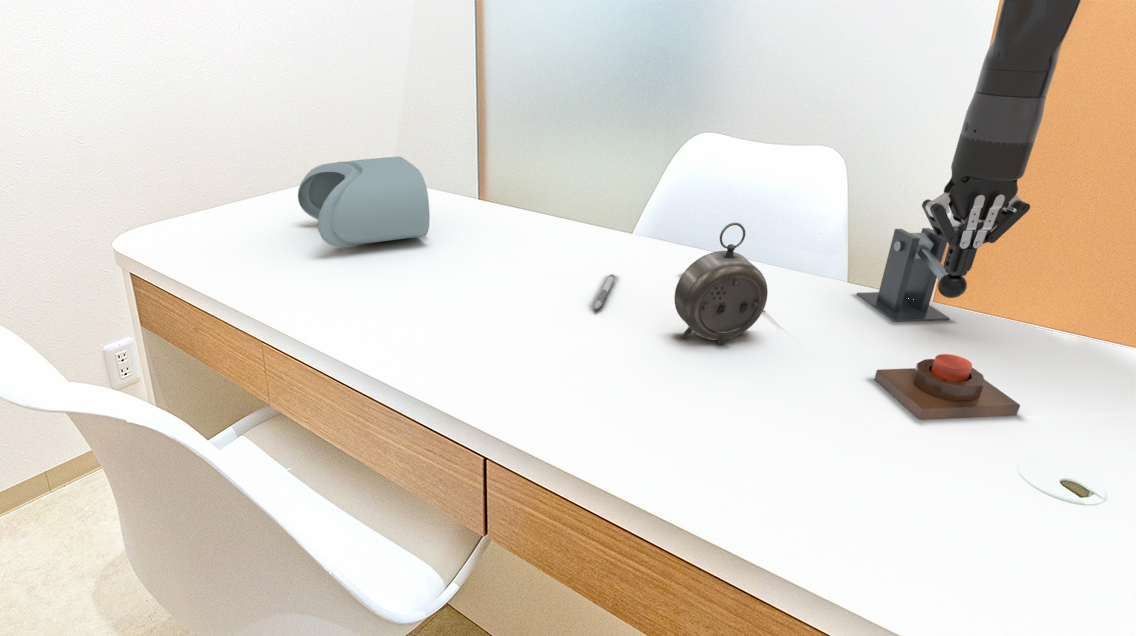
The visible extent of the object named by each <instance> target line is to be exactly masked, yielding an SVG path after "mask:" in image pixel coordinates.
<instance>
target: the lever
mask: <svg viewBox="0 0 1136 636" xmlns="http://www.w3.org/2000/svg"><path fill="white" fill-rule="evenodd" d="M910 233H911V234H913V235H914V236H916V237H918V238H920V240H919V244H918V247H917V251H916V255H915V258H914V259H922V260H923V261H924V262H925V264H926V265H927V266H928V267H929V268H930V270H931V271H932V272H933V273H934V274H935V275H936V277H937V279H938V283H937V290H938V292H939V294H940V295H941V296H943V297H945V298H948V299H956V298H960V297H961V296H962V295H963V294H965V292H966V290H967V288H968V282H967V280H966V278H965V276H952V275H950V274H948V273H947V272H946V271H945V268H944V265H943V264H942V262H941V263H940V262H939V261H938V259H937V258H936V257H935V256H934V255H933V254H932V253H931V249H932V247H933V245H934V243H933V242H932V241H931V240H930V239H929V238H928V237H927V236H926V234H925V233H921V232H910Z"/></svg>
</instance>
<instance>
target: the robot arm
mask: <svg viewBox="0 0 1136 636" xmlns="http://www.w3.org/2000/svg"><path fill="white" fill-rule="evenodd" d="M1081 1H1082V0H1003V1H1002V5H1001V10H1000V12H999V17H998V20H997V24H996V28H995V32H994V37H993V40H992V42H991V44H990V45H989V46H988V49H987V51H986V54H985V57H984V59H983V62H982V65H981V68H980V72H979V76H978V79H977V82H976V87H975V91H974V93H973V96H972V99H971V100H970V103H969V105H968V107H967V110H966V113H965V116H964V120H963V123H962V125H961V126H962V127H961V131H960V134H959V138H958V140H957V144H956V147H955V151H954V154H953V158H952V162H951V166H950V169H951V176H950V178H949V181H948V182H947V183H946V185H944V188H943V193H942V194H940V195H939V196H937V197H935V198H934V199H933V200H932V199H925V200H924V201H923V202H922V203H921V208H922V209H923V211H924V214H925V216H926V219H927V220H928V222H929V224H930V226H931V229H932V230H934V232H935V234H936V236H937V237H938V238H940V239H942V240H944V241H946V242H947V244H948V248H947V250H946V254H945V258H944V261H943V264H942V265H943V266H944V268H945V271H946V272H947V273H948V274H950V275H952V276H963V277H965V276H966V275H968V272H970V271H971V269H972V267H973V263H974V262H975V261H974V260H975V258H976V255H977V251H978V249H979V248H981V247H982V246H983V245H984V244H987V243H989V244H994V243H996V242H997V241H999V239H1000V238H1001V237H1002V236H1003V235H1004V234H1005V233H1006V232H1007V231H1008V230H1010V229H1011V228H1012V227H1013V226H1014V225H1015V224H1016V223H1017V222H1018V221H1020V220H1021V218H1023V217H1024V216H1025V215H1026V214H1027V213H1028V212H1029V211H1030V209H1031V204H1030V203H1027V202H1026V201H1023V200H1021V198H1020V197H1019V195H1018V192H1019V186H1018V180H1020V179H1022V178H1023V177H1024V175H1025V172H1026V169H1027V165H1028V163H1029V160H1030V158H1031V157H1030V156H1031V154H1032V151H1033V147H1034V144H1035V141H1036V138H1037V135H1038V132H1039V129H1040V126H1041V123H1042V120H1043V116H1044V111H1045V104H1046V100H1047V96H1048V92H1049V90H1050V88H1051V84H1052V80H1053V78H1054V75H1055V71H1056V68H1057V65H1058V62H1059V57H1060V52H1061V48H1062V45H1063V43H1064V41H1065V38H1066V36H1067V34H1068V32H1069V30H1070V28H1071V25H1072V23H1073V20H1074V18H1075V16H1076V13H1077V12H1078V9H1079V6H1080V4H1081ZM949 213H950V216H948V214H949Z"/></svg>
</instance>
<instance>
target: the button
mask: <svg viewBox="0 0 1136 636" xmlns="http://www.w3.org/2000/svg"><path fill="white" fill-rule="evenodd" d="M933 359H934V363H933V366H932V369H931V372H932V373H933V374H934V375H936V376H938V377H941V378H943V379H947V380H952V381H958V382H959V381H967V380H968V378H969V375H970V372H971V369H972V368H973V364H972V363H973V362H971V361H970V360H968V359H967V358H965V357H962V356H959V355H956V354H948V353H942V354H941V353H940V354H937V355H935V357H934V358H933Z"/></svg>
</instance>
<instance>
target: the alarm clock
mask: <svg viewBox="0 0 1136 636" xmlns="http://www.w3.org/2000/svg"><path fill="white" fill-rule="evenodd" d="M732 226H737V227H740V229H741V230H742V238H741V240H739V242H738V243H737V244H736V245H734V244H733V243H730V244H728V245H725V244H724V242H723V235H724V233H725V231H726V230H727V229H729V228H730V227H732ZM745 238H746V228H745V227H744V225H743V224H741V223H740V222H730V223H729V224H726V225H725V226H724V227H723V229H722V230H721V232H720V234H719V242H720V245H721V246H722V247H723V248H724V249H727V250H717V251H712V252H710V253H707V254H705V255H703V256H701V257H699V258H698V259H696V260H695V261H693V262H692V263H691V264H689V266H688V267H687V268H686V269H685V270H684V271H683V273H682V275H681V276H680V277H679V280H678V282H677V284H676V286H675V290H674V307H675V310H676V313H677V314H678V316H679V317H680V319H681V320H682V321H683V322H684V323H685V324H686V325H687V328H686V329H685V330H684V332H683V333H682V335H681V336H680V337H679V339H680V340H681V339H682V340H683V339H686V338H687V337H688V336H689V335H690V334H691V333H692V332H693V333H694V334H696V335H697V336H699V337H700V338H702V339H705V340H710V341H718V343H717V344H718V345H717V346H718V347H719V346H720V347H723V346H725V340H729V339H733V338H735V337H737V336H739V335H743V333H745V332H746V331H748V330H749V329H750V328H751V327H752V326H753V325H754V324H755V323H757V321H758V319H759V318H760V317H761V315H762V313H763V312H764V309H765V307H766V304H767V301H768V284H767V281H766V278H765V277H764V274H763V273H762V271H761V270H760V269H759V268H757V266H755V265H754V263H751V261H749V260H748V259H747V258H746V257H745V256H744V255H742V254H740V253H738V252H735V249H737V248H738V247H739V246H741V244H742V243H743V242H744V240H745Z"/></svg>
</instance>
